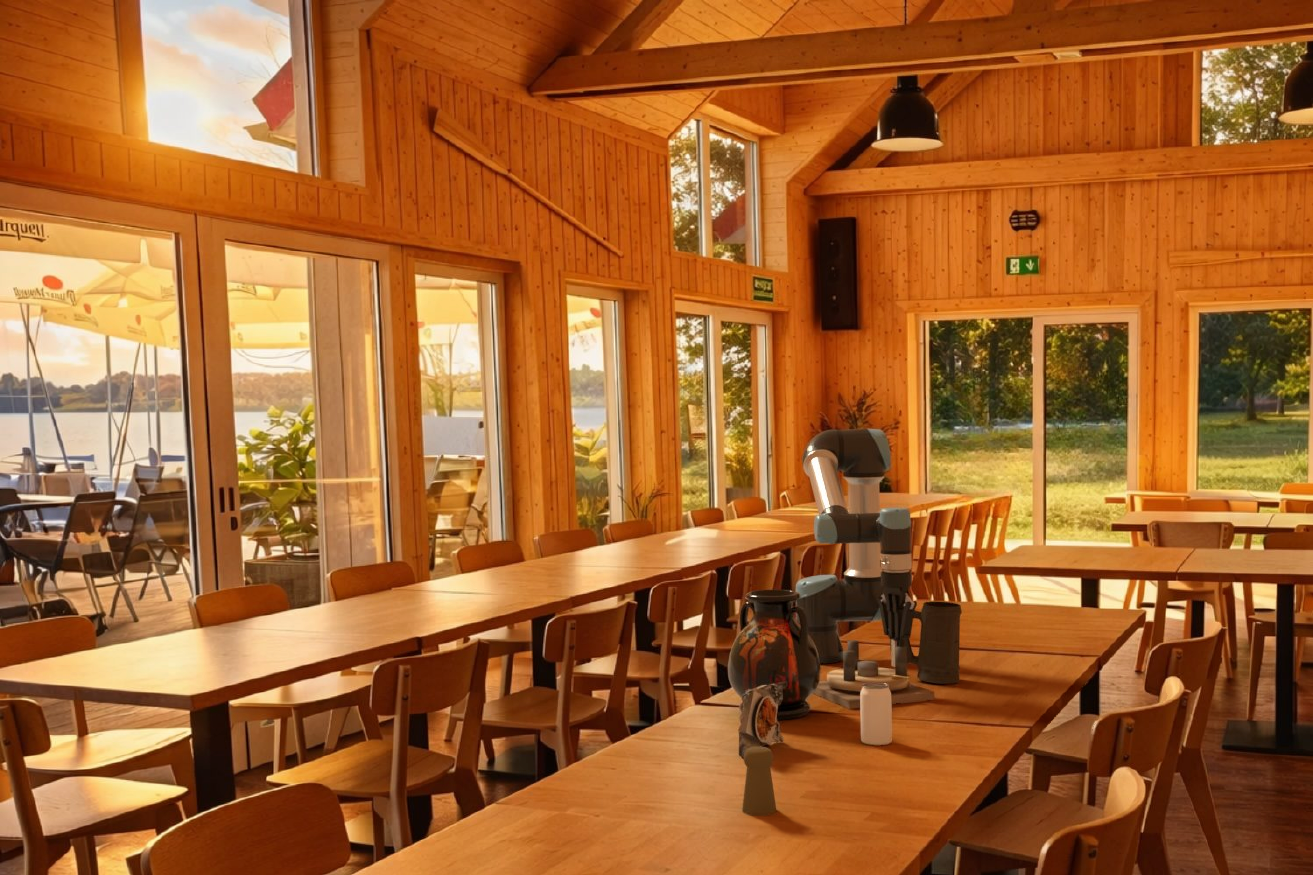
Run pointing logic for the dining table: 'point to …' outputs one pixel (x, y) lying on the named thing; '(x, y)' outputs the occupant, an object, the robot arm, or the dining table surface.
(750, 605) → the amphora vase
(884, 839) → the dining table surface
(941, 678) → the beer stein
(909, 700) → the stand
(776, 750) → the dining table surface
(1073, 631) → the dining table surface
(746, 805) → the brown tapered piece
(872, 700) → the can
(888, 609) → the robot arm
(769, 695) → the meal
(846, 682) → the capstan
